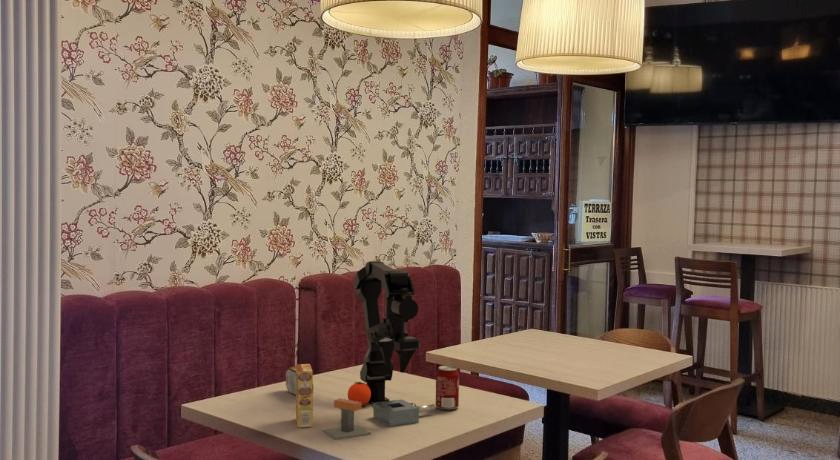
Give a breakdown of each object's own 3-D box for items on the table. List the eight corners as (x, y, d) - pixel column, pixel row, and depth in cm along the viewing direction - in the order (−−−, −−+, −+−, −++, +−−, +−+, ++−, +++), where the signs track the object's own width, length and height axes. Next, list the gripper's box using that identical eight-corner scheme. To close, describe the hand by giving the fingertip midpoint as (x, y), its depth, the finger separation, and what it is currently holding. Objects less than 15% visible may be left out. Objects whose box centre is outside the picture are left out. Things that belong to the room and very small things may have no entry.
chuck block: (373, 417, 224) (373, 402, 224) (424, 410, 232) (425, 396, 232) (389, 426, 216) (389, 411, 215) (442, 418, 224) (442, 404, 224)
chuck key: (339, 427, 212) (339, 398, 212) (361, 431, 209) (361, 402, 208) (333, 429, 210) (334, 400, 210) (355, 434, 207) (356, 404, 206)
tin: (314, 400, 241) (314, 373, 240) (304, 402, 239) (305, 374, 239) (292, 390, 253) (292, 363, 253) (283, 391, 251) (283, 364, 251)
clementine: (343, 403, 239) (343, 379, 238) (365, 401, 241) (365, 377, 241) (351, 409, 231) (352, 385, 231) (374, 407, 234) (374, 383, 234)
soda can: (456, 412, 231) (457, 370, 230) (433, 410, 232) (434, 369, 232) (460, 406, 238) (460, 366, 237) (437, 404, 239) (438, 364, 238)
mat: (323, 430, 211) (323, 429, 210) (357, 426, 215) (358, 424, 215) (335, 439, 204) (335, 437, 204) (370, 434, 208) (370, 432, 208)
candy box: (313, 427, 214) (313, 370, 213) (297, 428, 213) (297, 371, 212) (310, 418, 222) (310, 363, 221) (294, 418, 221) (295, 364, 220)
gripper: (355, 311, 230) (354, 365, 231) (384, 321, 214) (383, 378, 215) (390, 309, 236) (389, 361, 236) (421, 318, 219) (420, 374, 220)
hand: (394, 369), depth 227 cm, fingers open, 9 cm apart
